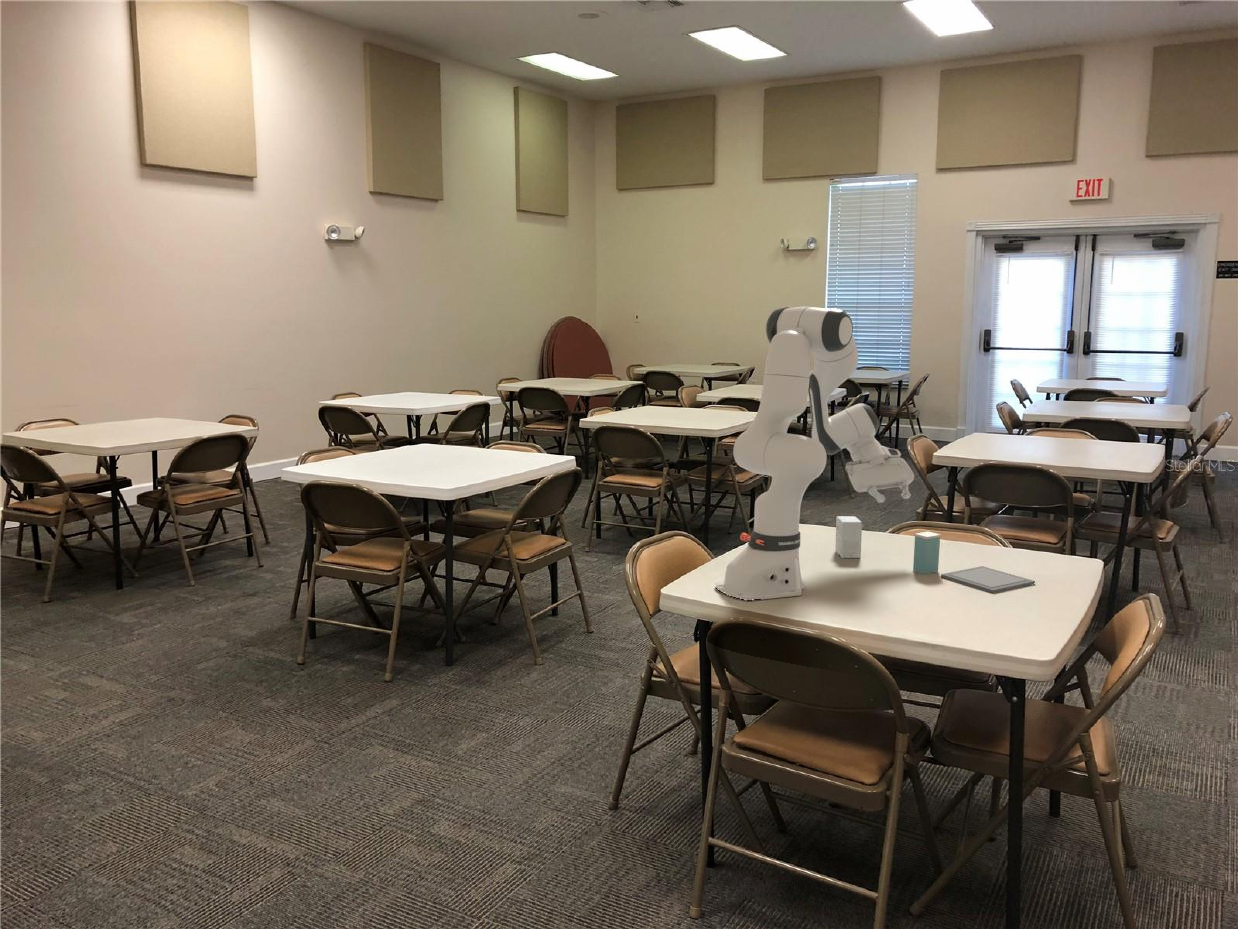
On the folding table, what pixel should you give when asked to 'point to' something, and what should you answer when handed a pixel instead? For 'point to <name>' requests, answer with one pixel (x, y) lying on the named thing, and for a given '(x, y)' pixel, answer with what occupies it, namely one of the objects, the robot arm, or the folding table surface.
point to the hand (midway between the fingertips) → (895, 499)
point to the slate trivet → (987, 579)
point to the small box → (848, 536)
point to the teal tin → (926, 552)
